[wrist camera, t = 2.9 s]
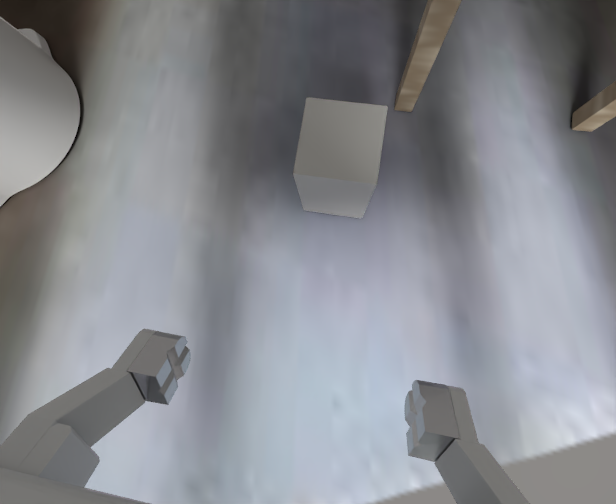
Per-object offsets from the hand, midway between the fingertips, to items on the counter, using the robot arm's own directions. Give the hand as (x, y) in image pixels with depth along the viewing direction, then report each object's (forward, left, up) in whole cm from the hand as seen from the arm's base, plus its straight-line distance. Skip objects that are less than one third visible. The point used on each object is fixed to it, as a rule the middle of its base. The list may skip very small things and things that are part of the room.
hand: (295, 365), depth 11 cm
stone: (0, +12, -14) cm, 18 cm away
